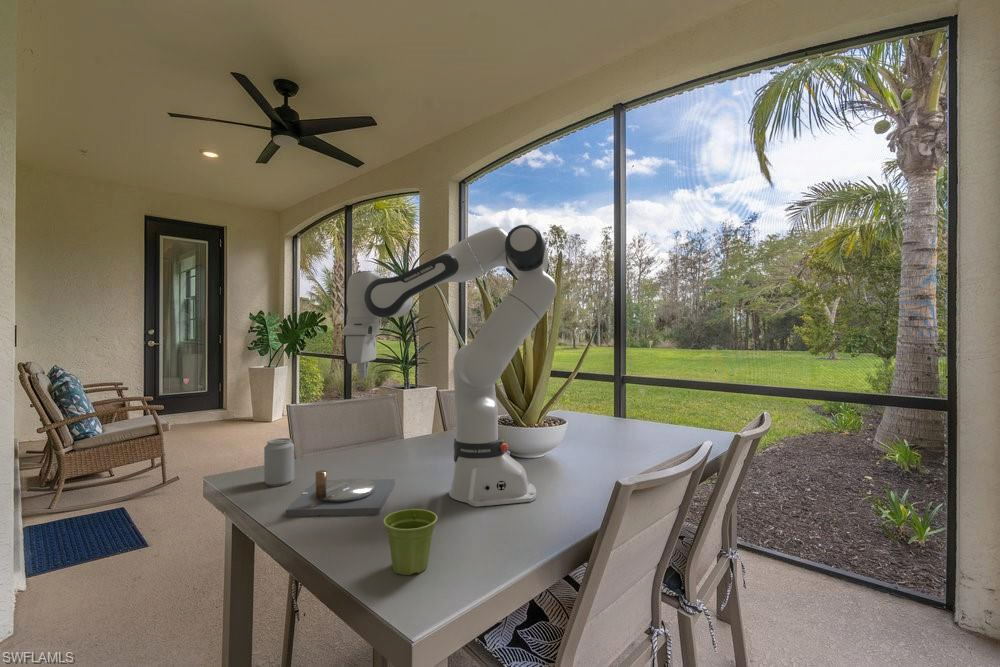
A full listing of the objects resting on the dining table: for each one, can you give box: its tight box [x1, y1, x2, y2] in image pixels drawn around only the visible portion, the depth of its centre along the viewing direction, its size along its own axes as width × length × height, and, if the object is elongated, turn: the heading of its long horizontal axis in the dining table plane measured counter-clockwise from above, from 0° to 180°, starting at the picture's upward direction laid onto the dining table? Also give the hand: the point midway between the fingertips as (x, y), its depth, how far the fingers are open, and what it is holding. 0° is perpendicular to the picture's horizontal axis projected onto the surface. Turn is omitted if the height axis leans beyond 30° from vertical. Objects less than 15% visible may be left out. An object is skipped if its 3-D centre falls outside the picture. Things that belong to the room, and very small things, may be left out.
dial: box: [315, 469, 374, 502], centre depth 115 cm, size 16×14×7 cm
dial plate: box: [285, 478, 396, 517], centre depth 116 cm, size 21×21×2 cm
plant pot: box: [383, 508, 438, 576], centre depth 82 cm, size 9×9×9 cm
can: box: [263, 437, 295, 487], centre depth 128 cm, size 8×8×12 cm
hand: (362, 378), depth 130 cm, fingers closed
